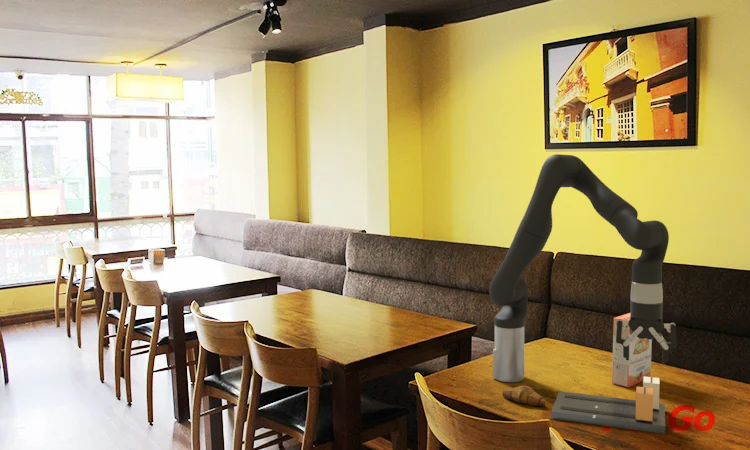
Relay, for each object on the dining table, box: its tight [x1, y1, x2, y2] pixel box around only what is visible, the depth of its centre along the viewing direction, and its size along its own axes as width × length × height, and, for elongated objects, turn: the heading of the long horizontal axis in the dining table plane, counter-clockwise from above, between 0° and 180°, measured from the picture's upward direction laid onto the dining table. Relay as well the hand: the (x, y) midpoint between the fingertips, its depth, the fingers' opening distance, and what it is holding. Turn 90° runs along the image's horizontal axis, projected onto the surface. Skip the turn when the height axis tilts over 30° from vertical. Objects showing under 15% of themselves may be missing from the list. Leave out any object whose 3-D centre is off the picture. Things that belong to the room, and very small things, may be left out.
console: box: [550, 390, 666, 435], centre depth 176 cm, size 28×17×2 cm, turn 67°
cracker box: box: [611, 312, 653, 388], centre depth 200 cm, size 14×6×21 cm, turn 130°
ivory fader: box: [642, 376, 660, 409], centre depth 175 cm, size 4×5×7 cm
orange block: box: [635, 386, 653, 421], centre depth 167 cm, size 4×5×7 cm
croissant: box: [501, 384, 546, 407], centre depth 186 cm, size 14×7×5 cm, turn 47°
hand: (645, 361), depth 166 cm, fingers open, 8 cm apart
